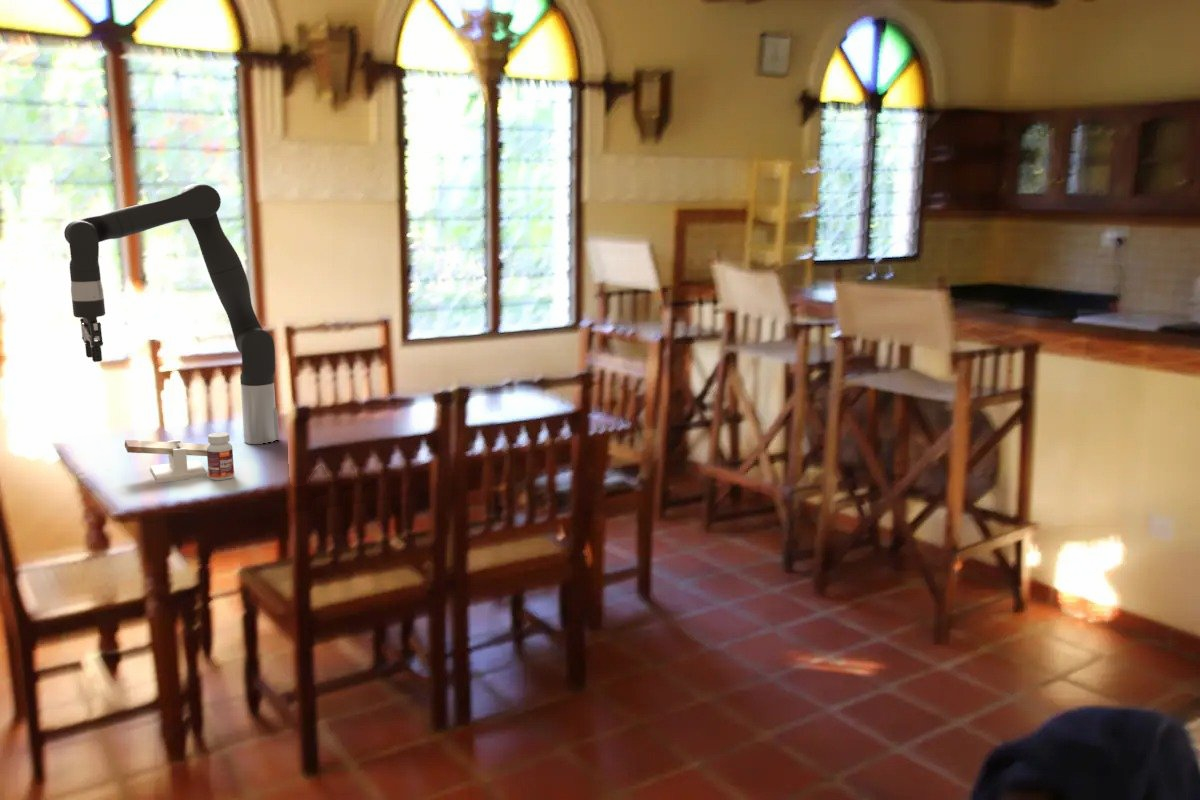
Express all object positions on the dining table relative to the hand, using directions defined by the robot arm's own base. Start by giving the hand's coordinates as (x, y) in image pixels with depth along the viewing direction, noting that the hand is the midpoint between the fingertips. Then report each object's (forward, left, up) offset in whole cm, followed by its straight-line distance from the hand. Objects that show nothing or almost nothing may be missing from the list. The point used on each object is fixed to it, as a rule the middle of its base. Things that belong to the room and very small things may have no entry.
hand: (94, 359), depth 278 cm
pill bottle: (-25, +31, -28) cm, 49 cm away
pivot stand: (-16, +22, -28) cm, 39 cm away
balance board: (-16, +22, -21) cm, 34 cm away
